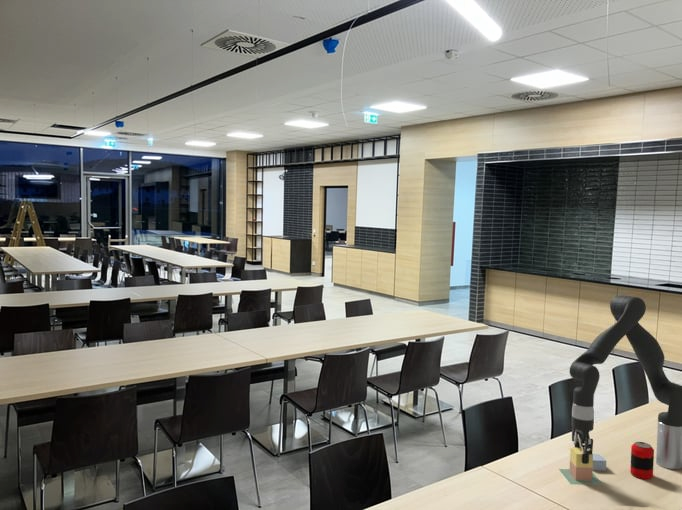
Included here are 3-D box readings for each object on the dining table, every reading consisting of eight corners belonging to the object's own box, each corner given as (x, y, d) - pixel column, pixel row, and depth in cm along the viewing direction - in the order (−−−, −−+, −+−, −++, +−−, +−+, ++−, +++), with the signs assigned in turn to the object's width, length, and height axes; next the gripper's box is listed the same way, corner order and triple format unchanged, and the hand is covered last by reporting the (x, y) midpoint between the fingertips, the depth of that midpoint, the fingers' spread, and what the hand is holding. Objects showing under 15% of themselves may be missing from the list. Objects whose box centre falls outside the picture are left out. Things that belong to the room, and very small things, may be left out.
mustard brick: (586, 460, 202) (586, 447, 202) (592, 467, 196) (593, 454, 196) (570, 460, 202) (570, 447, 202) (576, 467, 196) (576, 454, 196)
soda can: (650, 472, 206) (651, 442, 205) (655, 481, 198) (656, 450, 198) (628, 469, 208) (629, 439, 207) (632, 478, 201) (633, 447, 200)
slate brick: (598, 466, 211) (599, 453, 211) (605, 473, 205) (606, 460, 205) (583, 465, 211) (583, 453, 211) (590, 472, 205) (590, 460, 205)
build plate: (590, 472, 205) (590, 469, 205) (603, 487, 193) (604, 485, 193) (558, 471, 206) (558, 468, 206) (570, 486, 194) (570, 484, 194)
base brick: (585, 473, 202) (585, 460, 202) (592, 480, 196) (592, 467, 196) (569, 472, 203) (569, 460, 202) (575, 480, 197) (576, 467, 196)
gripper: (601, 423, 191) (599, 468, 192) (585, 409, 205) (583, 451, 206) (580, 422, 191) (578, 467, 192) (565, 408, 205) (564, 450, 206)
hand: (581, 458), depth 199 cm, fingers open, 6 cm apart
